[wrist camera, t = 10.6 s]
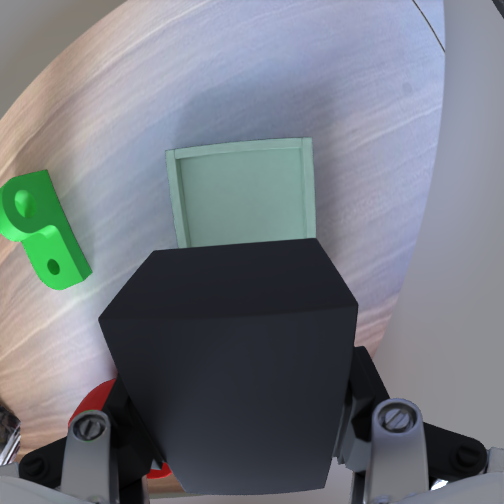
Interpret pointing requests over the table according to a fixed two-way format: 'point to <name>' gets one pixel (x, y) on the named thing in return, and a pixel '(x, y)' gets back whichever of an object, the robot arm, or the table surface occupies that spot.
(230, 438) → the black block
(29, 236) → the mechanical part
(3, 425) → the grey patterned box
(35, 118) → the table surface
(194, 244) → the mount tray
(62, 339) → the table surface
